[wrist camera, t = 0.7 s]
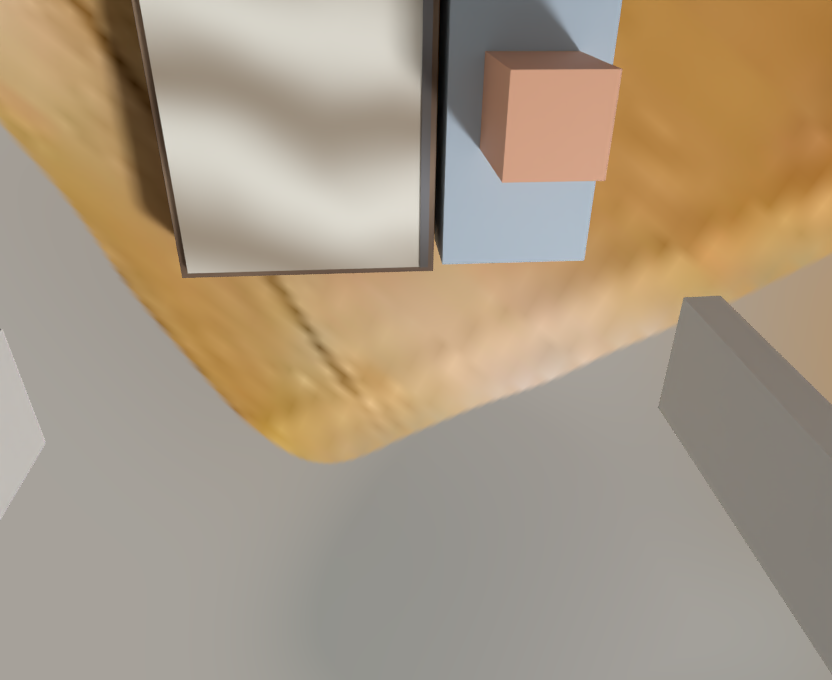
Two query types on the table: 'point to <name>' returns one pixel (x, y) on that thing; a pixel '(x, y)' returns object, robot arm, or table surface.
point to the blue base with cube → (522, 126)
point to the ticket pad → (295, 132)
